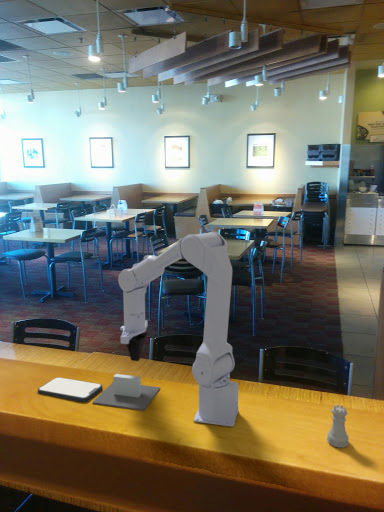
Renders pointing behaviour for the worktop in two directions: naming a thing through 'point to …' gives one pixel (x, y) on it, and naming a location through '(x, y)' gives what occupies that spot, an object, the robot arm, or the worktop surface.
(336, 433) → the rook chess piece
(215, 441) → the worktop surface
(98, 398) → the mat
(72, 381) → the smartphone
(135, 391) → the block
